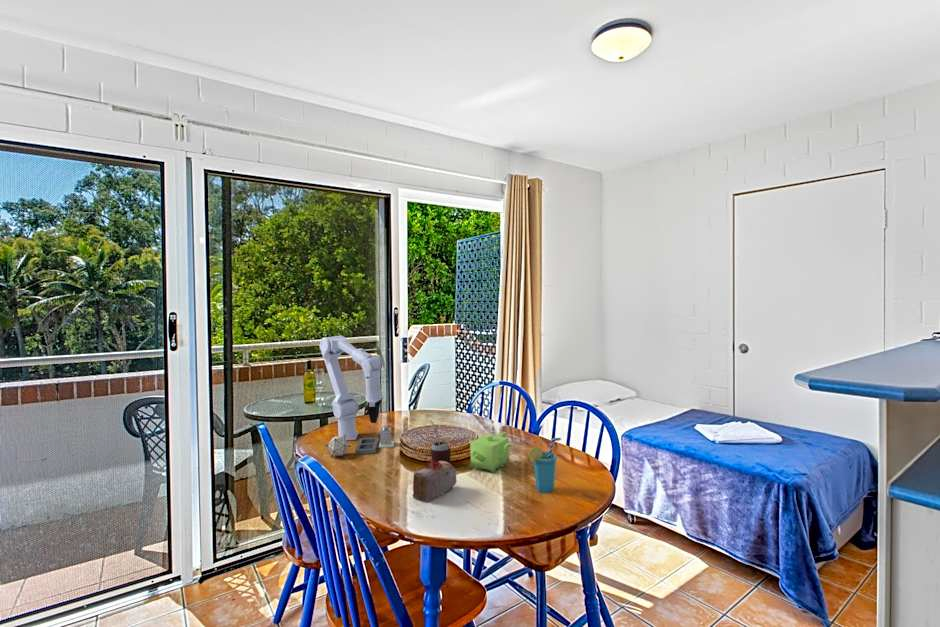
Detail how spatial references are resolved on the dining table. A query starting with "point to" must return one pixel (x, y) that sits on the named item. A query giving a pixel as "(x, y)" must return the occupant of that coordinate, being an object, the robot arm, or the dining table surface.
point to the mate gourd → (440, 450)
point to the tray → (387, 445)
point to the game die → (338, 446)
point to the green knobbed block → (490, 452)
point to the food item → (433, 480)
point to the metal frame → (367, 446)
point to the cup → (544, 467)
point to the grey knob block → (385, 436)
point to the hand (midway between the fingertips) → (374, 420)
